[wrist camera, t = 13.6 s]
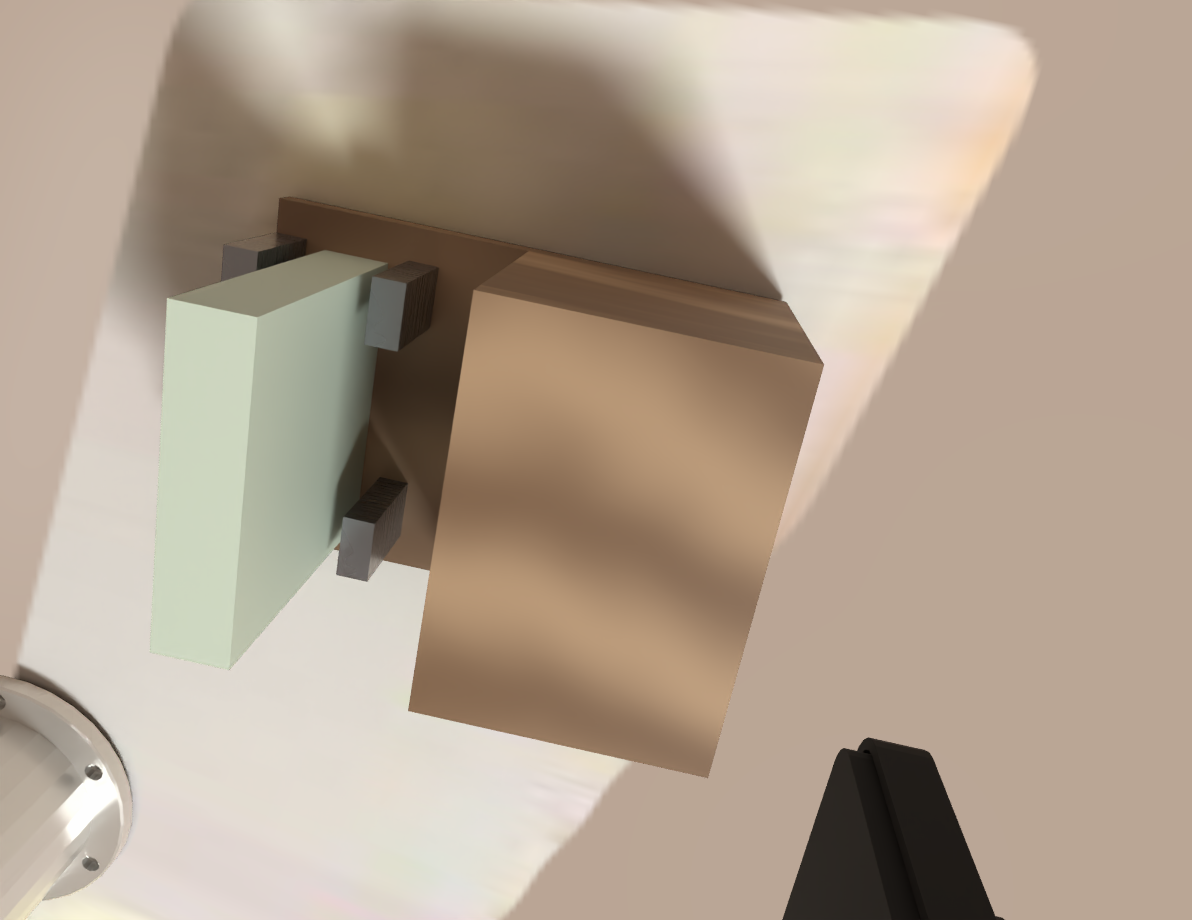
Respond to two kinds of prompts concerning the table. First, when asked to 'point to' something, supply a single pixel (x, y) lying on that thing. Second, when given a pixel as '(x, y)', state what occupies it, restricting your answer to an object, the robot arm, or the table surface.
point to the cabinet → (580, 484)
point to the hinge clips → (391, 325)
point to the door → (257, 446)
